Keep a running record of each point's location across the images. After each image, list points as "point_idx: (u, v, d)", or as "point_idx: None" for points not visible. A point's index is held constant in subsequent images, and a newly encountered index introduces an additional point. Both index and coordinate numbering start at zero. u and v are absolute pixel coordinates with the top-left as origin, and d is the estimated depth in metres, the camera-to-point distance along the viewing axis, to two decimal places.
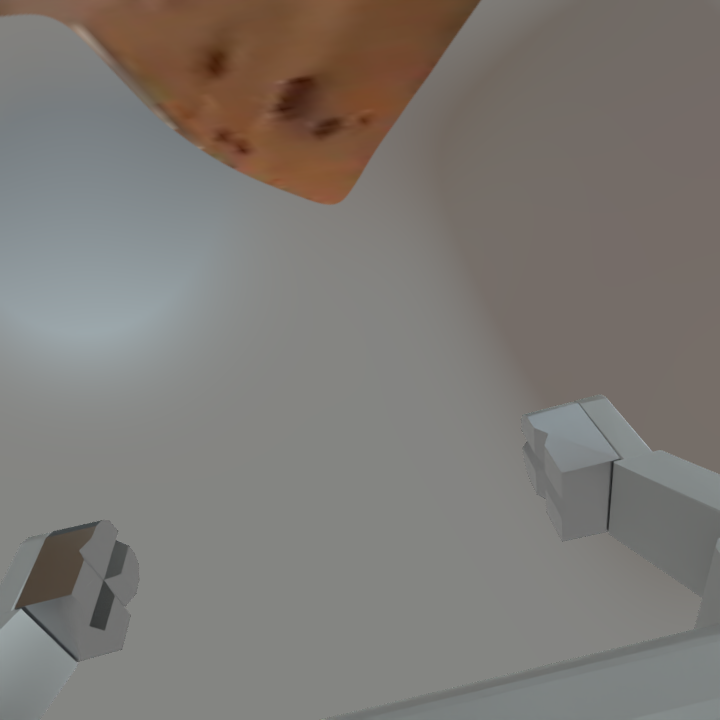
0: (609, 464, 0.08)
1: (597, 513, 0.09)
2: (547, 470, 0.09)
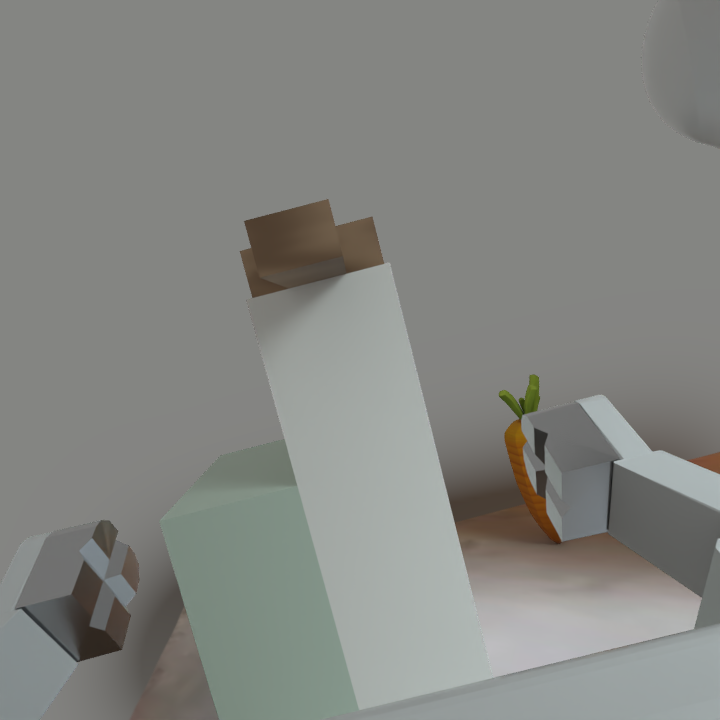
0: (609, 464, 0.08)
1: (597, 513, 0.09)
2: (547, 470, 0.09)
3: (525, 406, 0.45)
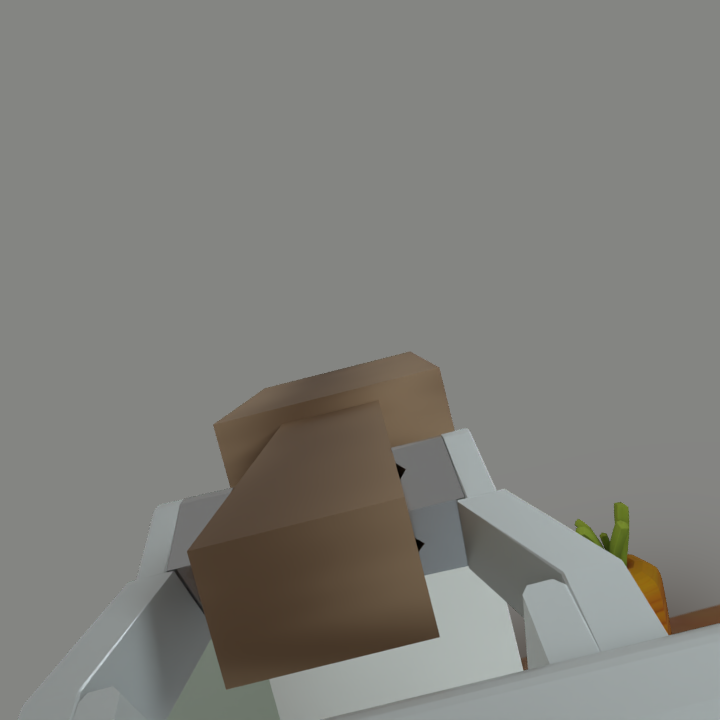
0: (454, 502, 0.08)
1: (453, 549, 0.09)
2: None
3: (612, 549, 0.34)
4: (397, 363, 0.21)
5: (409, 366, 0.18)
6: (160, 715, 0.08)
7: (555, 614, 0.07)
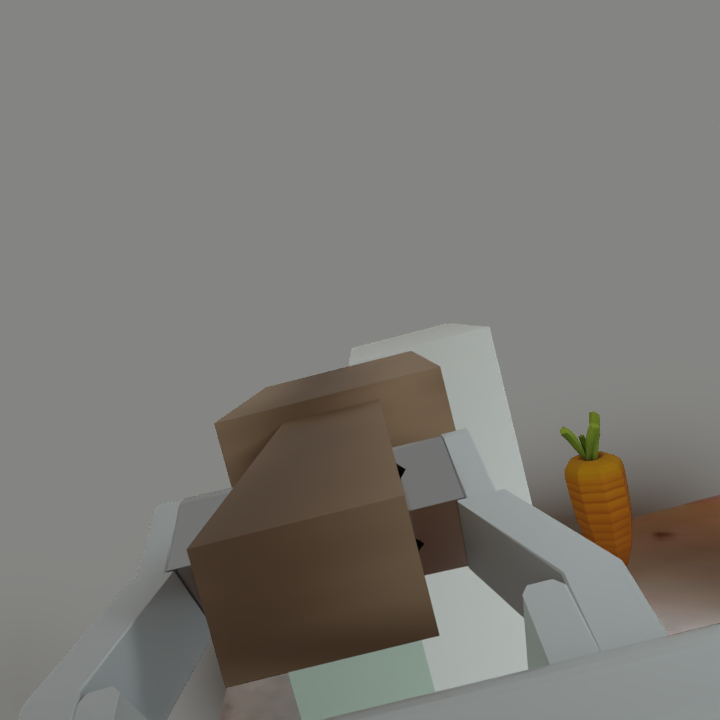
0: (454, 502, 0.08)
1: (453, 549, 0.09)
2: None
3: (587, 444, 0.46)
4: (398, 362, 0.21)
5: (410, 365, 0.18)
6: (160, 715, 0.08)
7: (555, 614, 0.07)
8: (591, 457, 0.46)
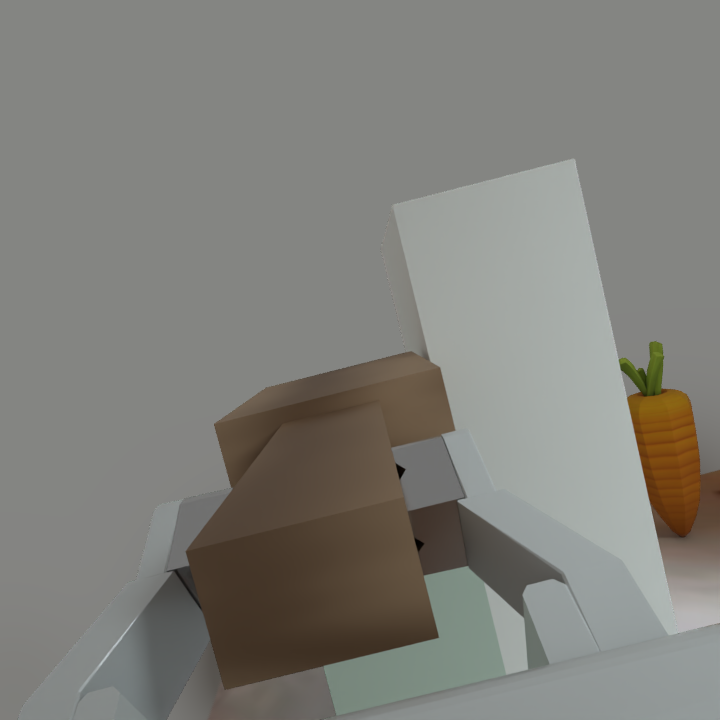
0: (455, 502, 0.08)
1: (453, 549, 0.09)
2: None
3: (649, 376, 0.39)
4: (398, 363, 0.21)
5: (410, 366, 0.18)
6: (160, 715, 0.08)
7: (555, 614, 0.07)
8: (653, 392, 0.40)
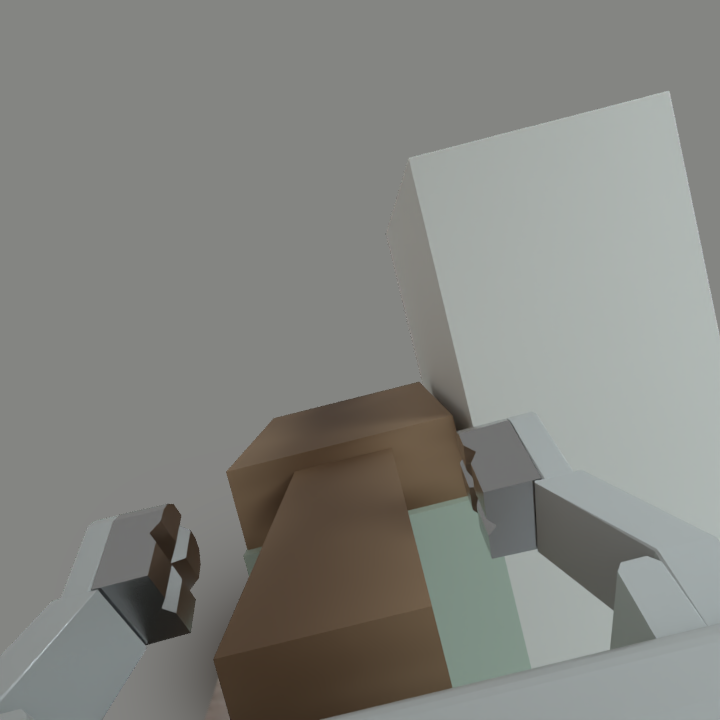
0: (531, 483, 0.08)
1: (524, 531, 0.09)
2: (475, 488, 0.09)
3: None
4: (408, 400, 0.21)
5: (421, 407, 0.18)
6: None
7: (655, 590, 0.06)
8: None
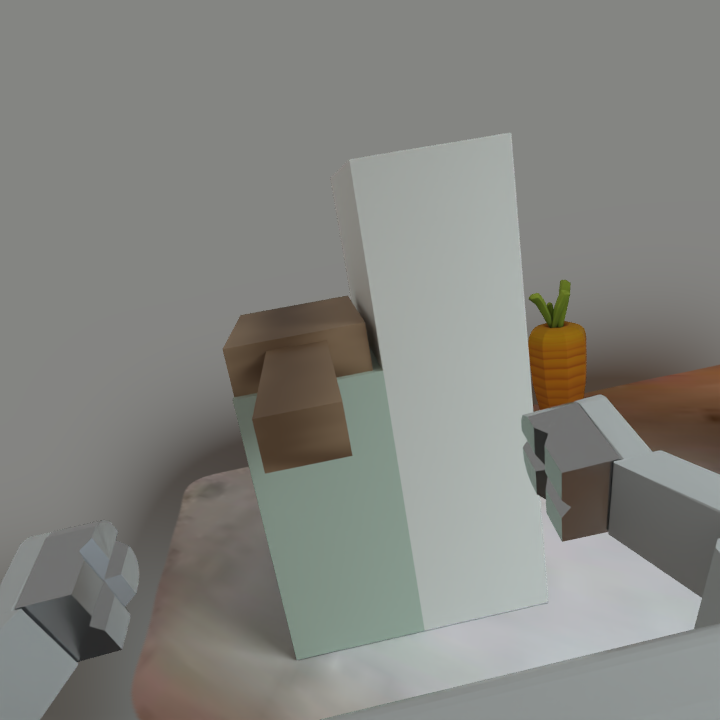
0: (609, 464, 0.08)
1: (597, 513, 0.09)
2: (547, 470, 0.09)
3: (555, 311, 0.45)
4: (338, 309, 0.31)
5: (346, 315, 0.29)
6: None
7: None
8: (557, 325, 0.46)
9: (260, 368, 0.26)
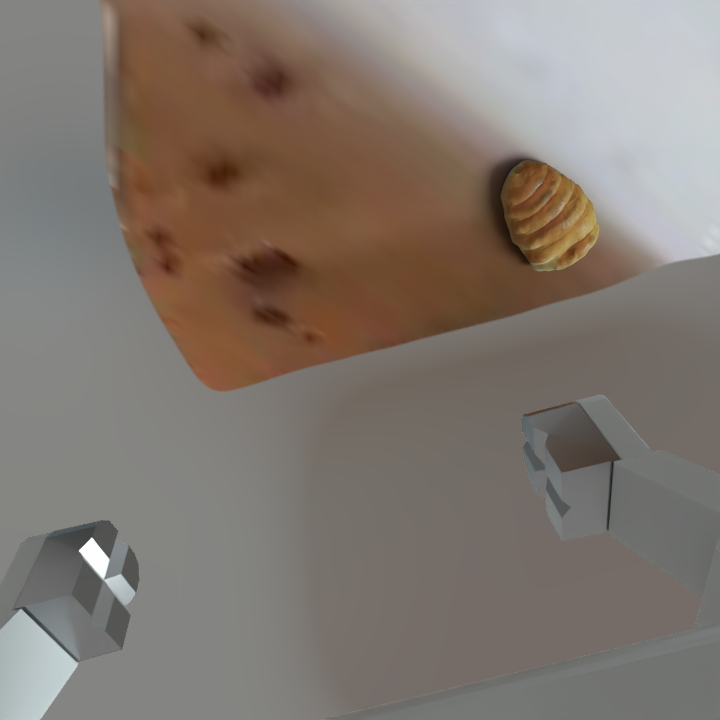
0: (609, 464, 0.08)
1: (597, 513, 0.09)
2: (547, 470, 0.09)
3: None
4: None
5: None
6: None
7: None
8: None
9: None
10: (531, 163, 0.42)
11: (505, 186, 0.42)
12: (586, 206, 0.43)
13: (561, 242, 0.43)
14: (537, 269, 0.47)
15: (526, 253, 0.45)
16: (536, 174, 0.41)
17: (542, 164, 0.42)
